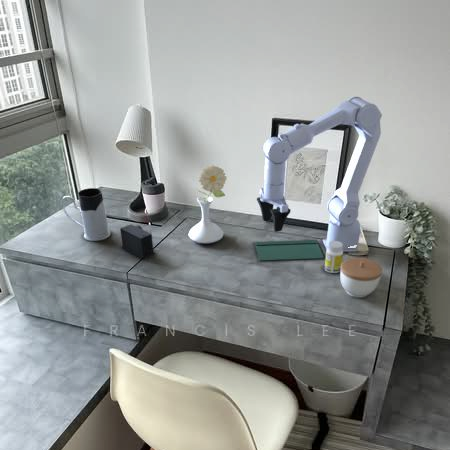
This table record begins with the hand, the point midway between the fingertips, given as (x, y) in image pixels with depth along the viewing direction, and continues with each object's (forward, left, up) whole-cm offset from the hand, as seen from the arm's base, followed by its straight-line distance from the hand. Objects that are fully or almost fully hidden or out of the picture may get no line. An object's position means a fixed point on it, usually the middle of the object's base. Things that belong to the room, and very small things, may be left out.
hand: (272, 225), depth 145 cm
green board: (-6, -2, -10) cm, 12 cm away
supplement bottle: (-17, +10, -10) cm, 22 cm away
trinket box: (-21, +22, -10) cm, 32 cm away
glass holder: (+59, -18, -10) cm, 62 cm away
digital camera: (+41, -6, -10) cm, 43 cm away
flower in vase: (+19, -12, -10) cm, 24 cm away
